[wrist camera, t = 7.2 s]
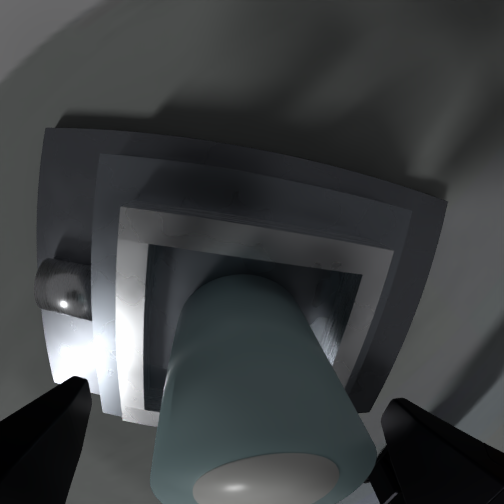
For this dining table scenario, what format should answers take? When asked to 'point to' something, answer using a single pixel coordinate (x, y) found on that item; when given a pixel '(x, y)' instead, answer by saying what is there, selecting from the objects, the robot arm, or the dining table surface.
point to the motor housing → (217, 255)
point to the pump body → (254, 405)
